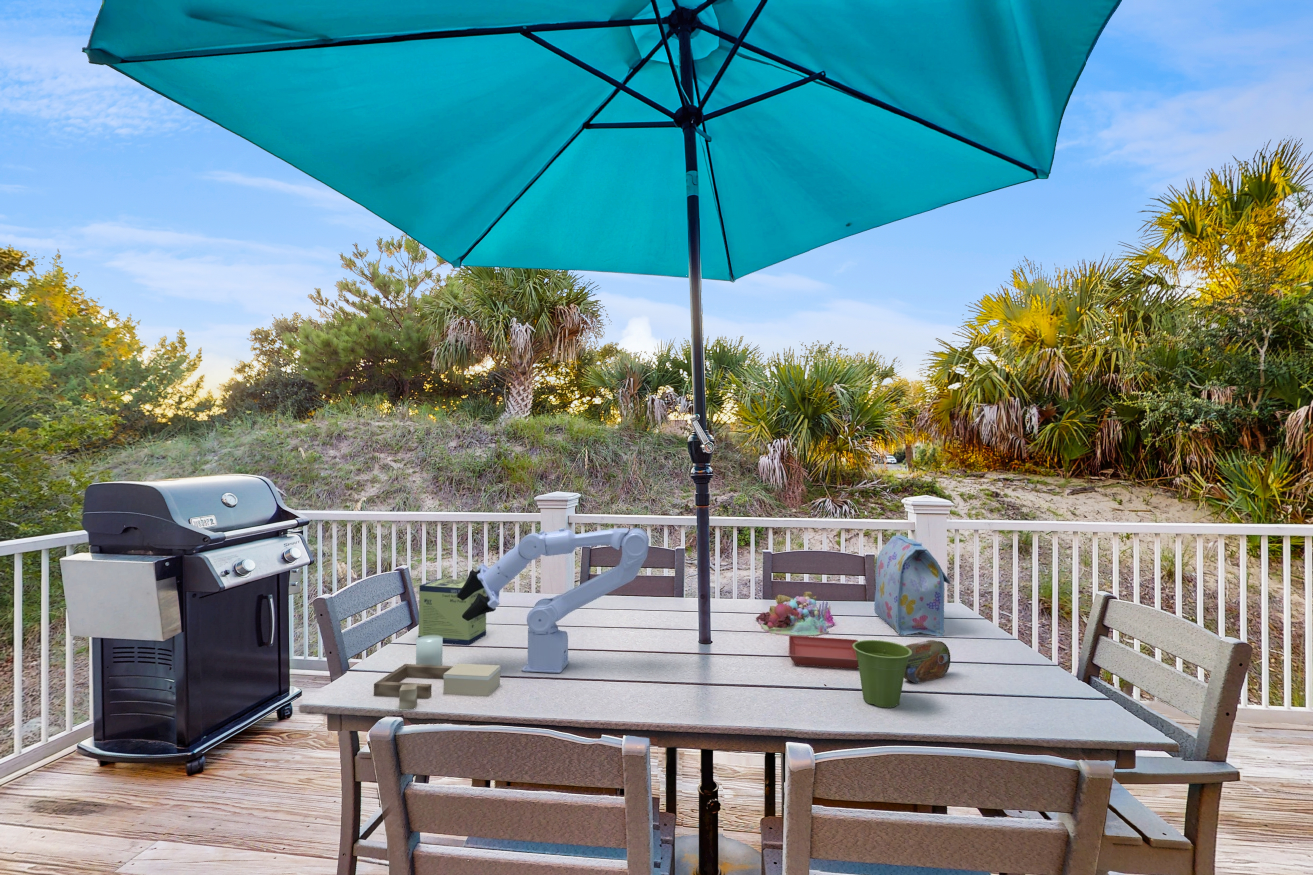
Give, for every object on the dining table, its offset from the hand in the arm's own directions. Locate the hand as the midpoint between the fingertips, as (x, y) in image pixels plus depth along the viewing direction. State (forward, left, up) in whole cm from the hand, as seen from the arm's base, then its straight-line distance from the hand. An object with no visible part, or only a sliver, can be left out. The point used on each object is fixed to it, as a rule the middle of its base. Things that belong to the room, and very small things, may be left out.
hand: (462, 608), depth 156 cm
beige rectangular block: (-8, +14, -14) cm, 22 cm away
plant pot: (-96, +9, -14) cm, 98 cm away
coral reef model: (-84, -51, -15) cm, 99 cm away
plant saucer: (-88, -20, -15) cm, 92 cm away
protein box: (+13, -22, -14) cm, 30 cm away
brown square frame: (+6, +14, -14) cm, 20 cm away
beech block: (+1, +24, -14) cm, 28 cm away
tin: (-109, -7, -14) cm, 111 cm away
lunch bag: (-118, -53, -14) cm, 131 cm away
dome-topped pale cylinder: (+8, +2, -14) cm, 16 cm away
